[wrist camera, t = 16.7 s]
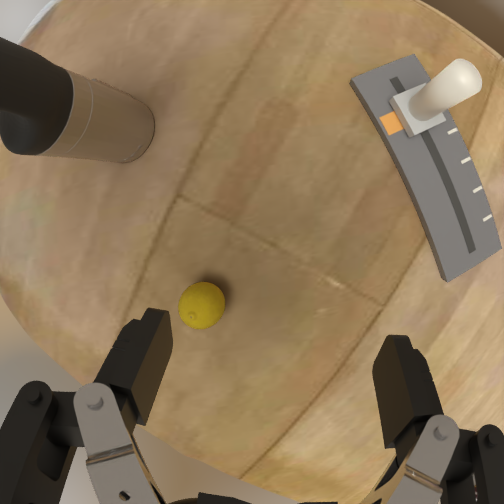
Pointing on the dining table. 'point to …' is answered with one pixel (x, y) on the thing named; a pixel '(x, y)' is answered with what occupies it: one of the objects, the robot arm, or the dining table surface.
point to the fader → (436, 97)
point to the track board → (432, 171)
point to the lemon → (201, 305)
